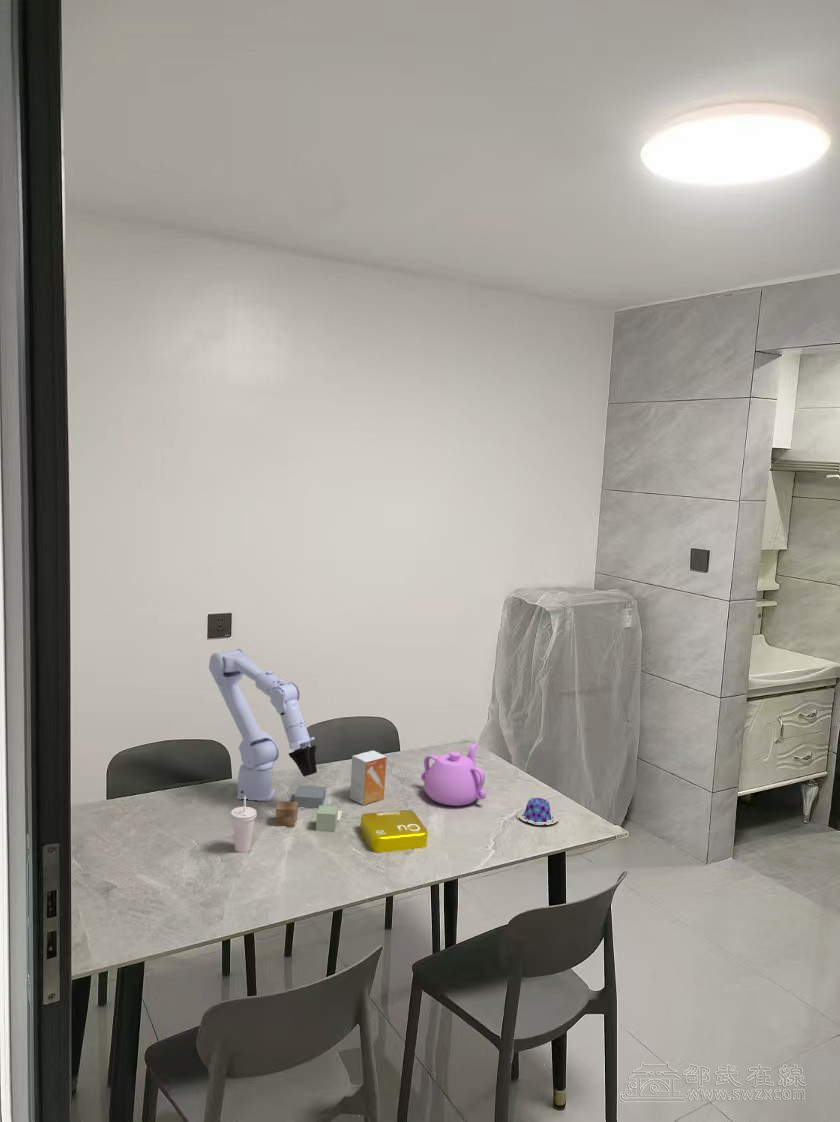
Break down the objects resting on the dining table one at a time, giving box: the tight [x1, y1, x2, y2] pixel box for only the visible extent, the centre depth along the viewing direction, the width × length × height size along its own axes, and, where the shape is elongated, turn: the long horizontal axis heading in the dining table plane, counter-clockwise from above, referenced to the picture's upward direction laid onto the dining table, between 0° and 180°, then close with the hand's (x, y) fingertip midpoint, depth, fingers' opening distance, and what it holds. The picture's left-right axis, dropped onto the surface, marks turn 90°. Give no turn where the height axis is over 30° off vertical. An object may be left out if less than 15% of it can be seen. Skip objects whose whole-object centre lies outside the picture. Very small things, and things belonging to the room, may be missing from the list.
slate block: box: [293, 784, 327, 810], centre depth 239 cm, size 8×8×4 cm
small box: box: [349, 749, 387, 806], centre depth 243 cm, size 8×6×13 cm
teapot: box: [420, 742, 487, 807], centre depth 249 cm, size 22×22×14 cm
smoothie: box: [230, 796, 258, 853], centre depth 209 cm, size 6×6×14 cm
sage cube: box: [315, 804, 339, 833], centre depth 224 cm, size 5×5×5 cm
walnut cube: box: [274, 800, 299, 828], centre depth 225 cm, size 5×5×5 cm
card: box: [337, 810, 343, 822], centre depth 231 cm, size 6×6×1 cm
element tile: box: [359, 809, 429, 854], centre depth 220 cm, size 15×15×5 cm
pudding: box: [516, 797, 552, 822], centre depth 237 cm, size 12×12×5 cm
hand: (310, 774), depth 227 cm, fingers open, 7 cm apart
